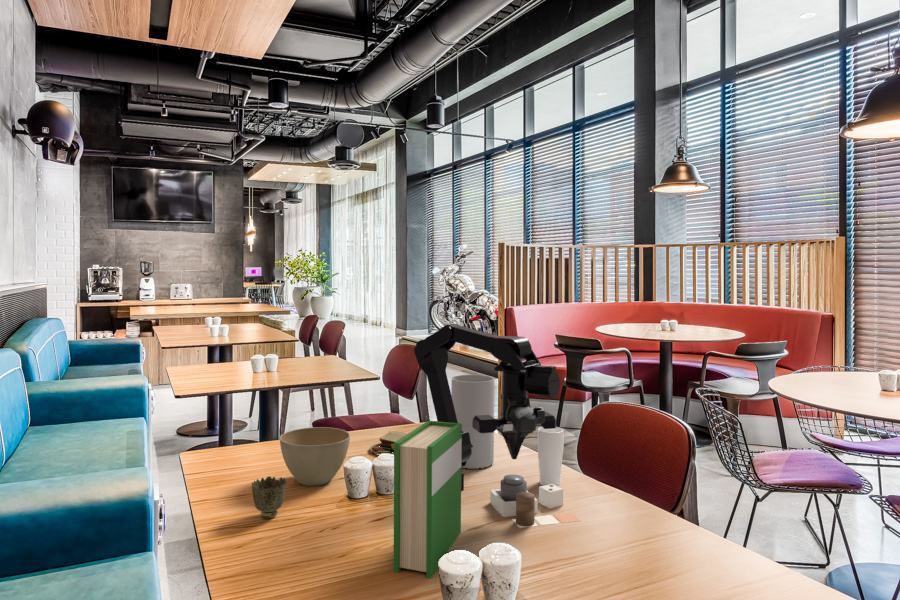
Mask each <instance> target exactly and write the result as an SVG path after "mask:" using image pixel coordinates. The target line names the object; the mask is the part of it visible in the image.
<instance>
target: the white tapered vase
mask: <svg viewBox="0 0 900 600" xmlns="http://www.w3.org/2000/svg"><path fill="white" fill-rule="evenodd" d="M564 437H565V434H564V429H563V428H562V427H559V426H556V428H552V429H544V428H543V427H542V426H540V427H538V428H537V441H536V442H537V443H536V445H537V459H538V470H539V471H538V472H539V474H538V475H539V484H540V485H541V486H545V485H549V484H554V485H556V486H560V485H561V477H562V476H561V474H562V464H563V457H564V444H565V441H564V440H565V438H564Z"/></svg>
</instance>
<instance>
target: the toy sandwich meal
mask: <svg viewBox="0 0 900 600" xmlns="http://www.w3.org/2000/svg"><path fill="white" fill-rule="evenodd" d="M407 434H408V433H405V432H403V431H396V430H390V431H388V433H385V434H384V435H382V436H380V438H379V441H380V442H378V443H375V444H373V445H371V446H370V447H369V451H370V452H371V453H372V452H373V453H375V454H374V455H376V454H381V453H390V454H394V443H395V442H396V441H398V440H399V439H401V438H402V437H404V436H405V435H407ZM379 446H380V447H379ZM392 452H393V453H392ZM373 453H372V454H373Z"/></svg>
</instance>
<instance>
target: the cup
mask: <svg viewBox="0 0 900 600" xmlns="http://www.w3.org/2000/svg"><path fill="white" fill-rule="evenodd" d="M286 485H287V480H286V478H285V477H284V478H283V477H282V476H281V477H280V478H279V479H276V476H273V477H271V476H267V477H266V478H264V477H261V479H260V480H259V479H257V478H256V481H255V480H253V482H251V489H252V499H253V504H254V506H255V508H256V509H257V510H258V511H260V517H261V518H263V519H266V520H267V519H273V518H275V517H277V515H278V510H279V509H280V508H281V507H282V505H283V504H284V501H285V495H286Z"/></svg>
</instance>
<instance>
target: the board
mask: <svg viewBox="0 0 900 600" xmlns="http://www.w3.org/2000/svg"><path fill="white" fill-rule="evenodd" d="M527 492H529V491H528V490H527ZM489 495H490V497H489V501H490V502H489V503H490V504H491V506H492V507H493V508H494V510H496V511H497V513H499V515H500V516H501V517H502V518H506V517H516V501H509V502H505V501H504V500H503V499H502V498H501V497H500V496H501V488H499V489H490V492H489ZM538 503H539V499H537V498H536V497H535V514H538V511H539V510H538V505H539V504H538ZM557 519H558V520H559V521H558V520H557ZM511 520H512V521H513V523H514V524H515V525H516V526H517V527H518V528H519V529H521V528H531V527H539V525H540V526H548V525H558V524H560V523H562V524H565V523H574V522H581V519H579V518H578V517H577V516H575V514H574V513H572V512H568V513H558V514H557V513H556V514H553V515H552V514H551V515H550V514H549V515H547V514H546V515H540V516H534V525H532V526H520V525H518V524H517V523H516V518H514V519H513V518H512V519H511ZM538 524H539V525H538Z"/></svg>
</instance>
